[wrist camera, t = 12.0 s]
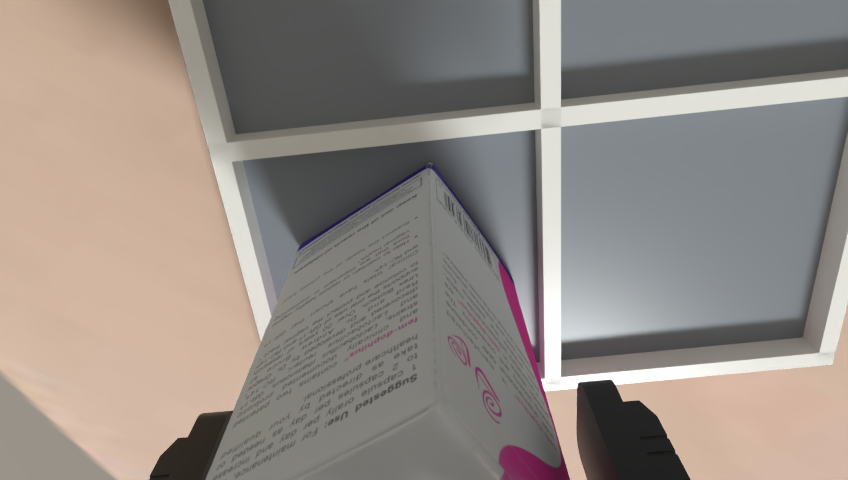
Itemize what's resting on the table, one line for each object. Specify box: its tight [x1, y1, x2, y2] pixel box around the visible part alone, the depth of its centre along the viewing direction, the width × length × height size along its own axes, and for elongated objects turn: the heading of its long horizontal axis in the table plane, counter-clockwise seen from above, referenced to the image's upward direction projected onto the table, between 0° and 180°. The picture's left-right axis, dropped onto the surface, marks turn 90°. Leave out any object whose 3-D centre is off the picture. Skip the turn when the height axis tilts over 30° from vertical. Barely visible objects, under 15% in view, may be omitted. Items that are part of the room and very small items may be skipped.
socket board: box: [168, 0, 848, 391], centre depth 18 cm, size 21×21×2 cm
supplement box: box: [206, 162, 570, 480], centre depth 15 cm, size 6×6×12 cm
